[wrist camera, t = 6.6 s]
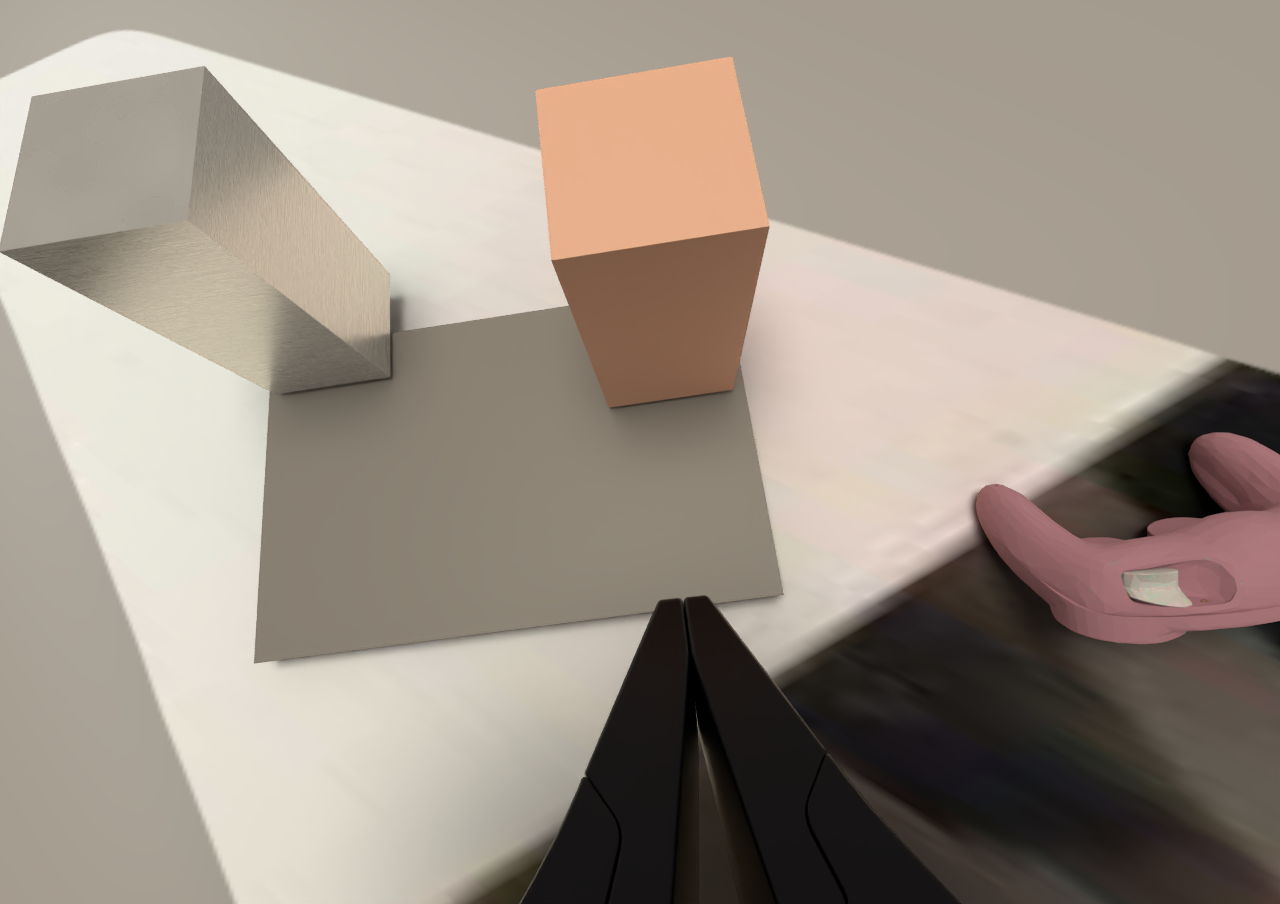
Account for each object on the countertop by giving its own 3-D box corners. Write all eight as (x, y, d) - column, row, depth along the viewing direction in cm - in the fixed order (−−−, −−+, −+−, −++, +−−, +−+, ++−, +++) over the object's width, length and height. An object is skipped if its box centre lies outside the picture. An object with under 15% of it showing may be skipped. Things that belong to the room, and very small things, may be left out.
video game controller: (972, 590, 23) (1125, 697, 16) (958, 482, 22) (1113, 546, 15) (1215, 533, 22) (1478, 617, 16) (1211, 423, 22) (1487, 460, 15)
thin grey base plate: (778, 595, 22) (783, 594, 20) (276, 660, 22) (254, 663, 21) (722, 296, 25) (724, 282, 24) (290, 362, 26) (272, 351, 25)
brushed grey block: (390, 377, 24) (187, 220, 14) (275, 394, 24) (-2, 251, 14) (389, 273, 25) (204, 65, 15) (281, 290, 25) (31, 96, 16)
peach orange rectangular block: (733, 389, 22) (769, 226, 13) (608, 407, 23) (551, 260, 13) (713, 279, 24) (732, 56, 14) (595, 297, 24) (535, 90, 14)
